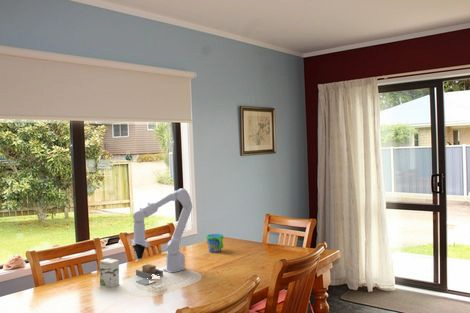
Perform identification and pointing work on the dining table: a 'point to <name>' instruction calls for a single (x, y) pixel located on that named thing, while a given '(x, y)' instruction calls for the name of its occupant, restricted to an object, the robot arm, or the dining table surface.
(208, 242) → the snack cup
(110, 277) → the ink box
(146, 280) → the pad
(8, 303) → the dining table surface
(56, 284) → the dining table surface
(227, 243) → the dining table surface
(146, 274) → the channel
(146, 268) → the walnut block
